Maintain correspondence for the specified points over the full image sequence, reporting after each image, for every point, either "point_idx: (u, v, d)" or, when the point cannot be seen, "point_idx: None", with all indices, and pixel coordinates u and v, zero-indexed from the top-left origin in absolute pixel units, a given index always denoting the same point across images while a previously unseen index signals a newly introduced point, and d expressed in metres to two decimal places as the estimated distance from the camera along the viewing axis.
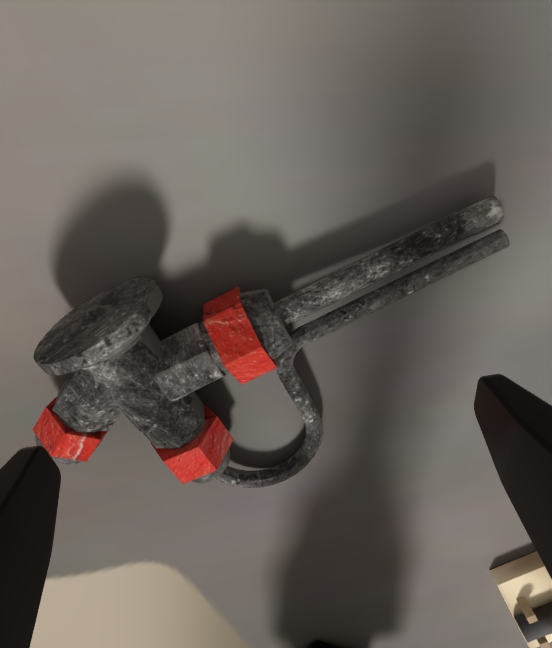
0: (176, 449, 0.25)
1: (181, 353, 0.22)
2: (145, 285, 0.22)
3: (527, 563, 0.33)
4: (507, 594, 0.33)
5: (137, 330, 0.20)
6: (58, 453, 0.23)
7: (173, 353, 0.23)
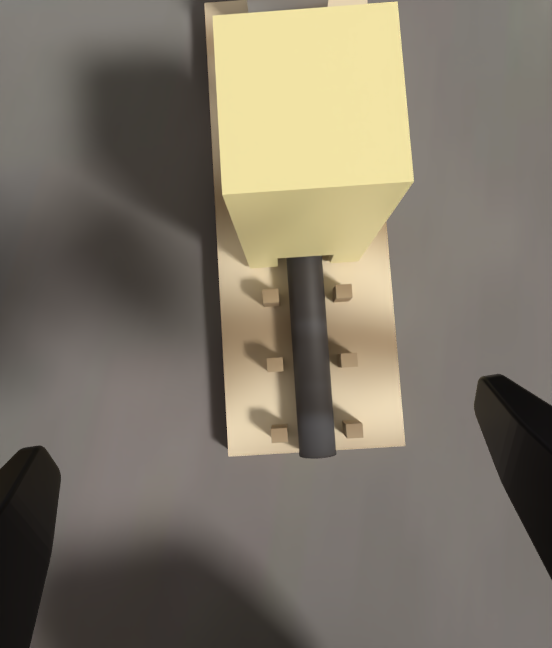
0: None
1: None
2: None
3: None
4: (255, 447, 0.21)
5: None
6: None
7: None
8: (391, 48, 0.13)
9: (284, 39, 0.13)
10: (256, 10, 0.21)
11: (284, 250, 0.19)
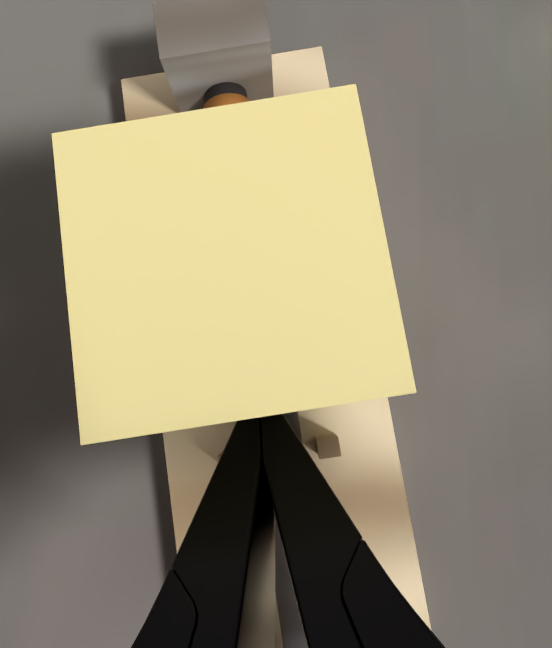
0: None
1: None
2: None
3: None
4: None
5: None
6: None
7: None
8: (353, 161, 0.07)
9: (173, 162, 0.08)
10: (181, 86, 0.17)
11: None
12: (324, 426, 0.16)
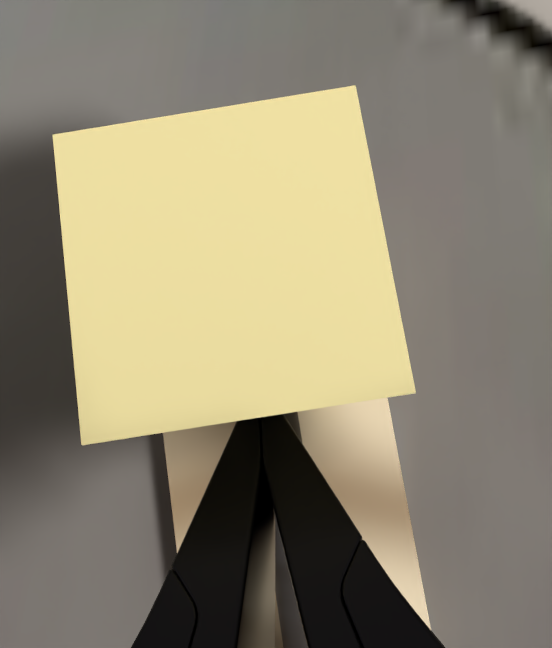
0: None
1: None
2: None
3: None
4: None
5: None
6: None
7: None
8: (353, 162, 0.07)
9: (173, 163, 0.08)
10: None
11: None
12: None
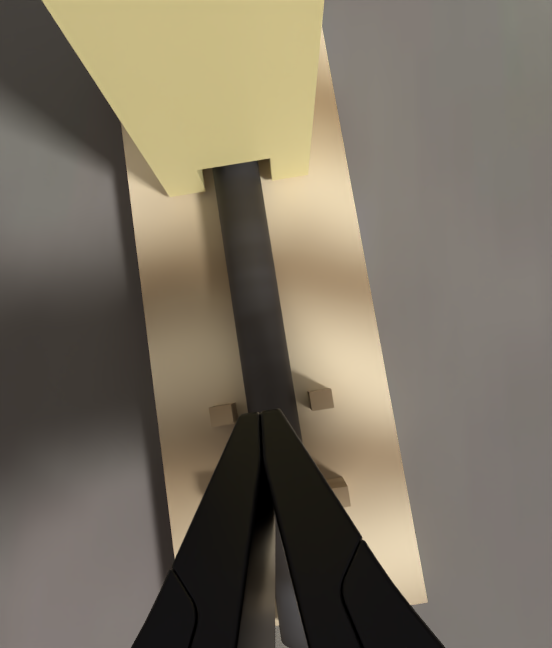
0: None
1: None
2: None
3: None
4: None
5: None
6: None
7: None
8: None
9: None
10: None
11: (198, 148, 0.14)
12: (317, 381, 0.16)
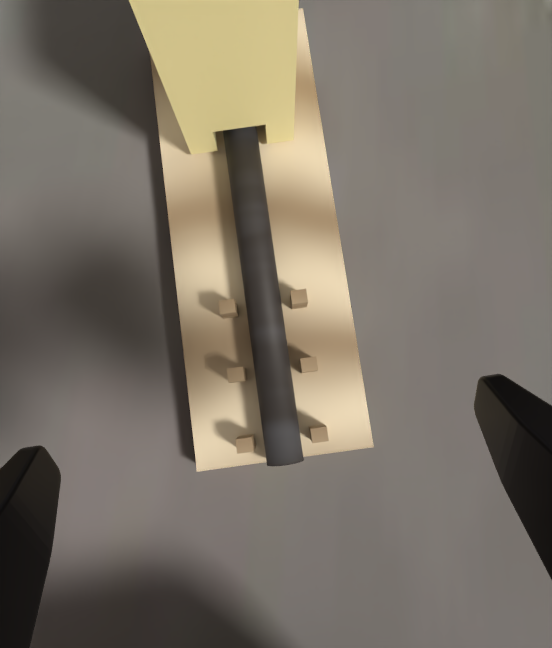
0: None
1: None
2: None
3: None
4: (223, 460, 0.21)
5: None
6: None
7: None
8: None
9: None
10: None
11: (215, 114, 0.20)
12: (297, 290, 0.22)
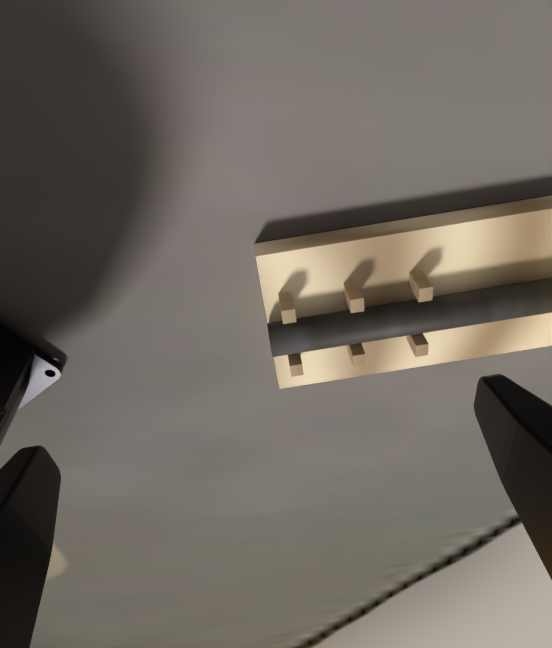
0: None
1: None
2: None
3: (312, 240, 0.21)
4: (267, 280, 0.21)
5: None
6: None
7: None
8: None
9: None
10: None
11: None
12: None
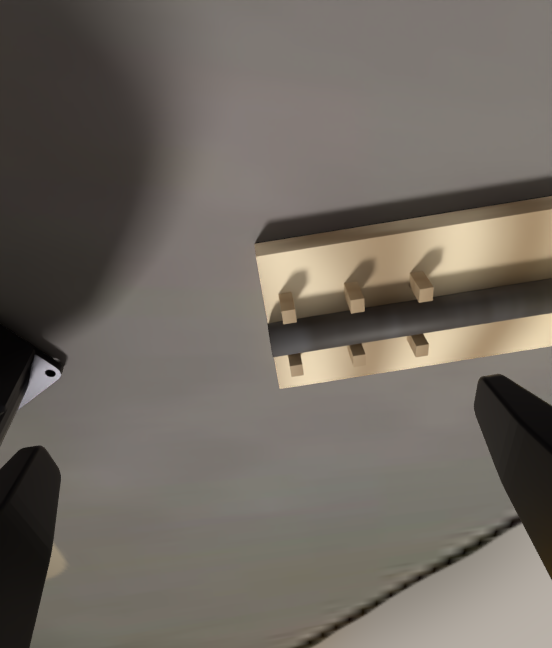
0: None
1: None
2: None
3: (312, 240, 0.21)
4: (267, 280, 0.21)
5: None
6: None
7: None
8: None
9: None
10: None
11: None
12: None
